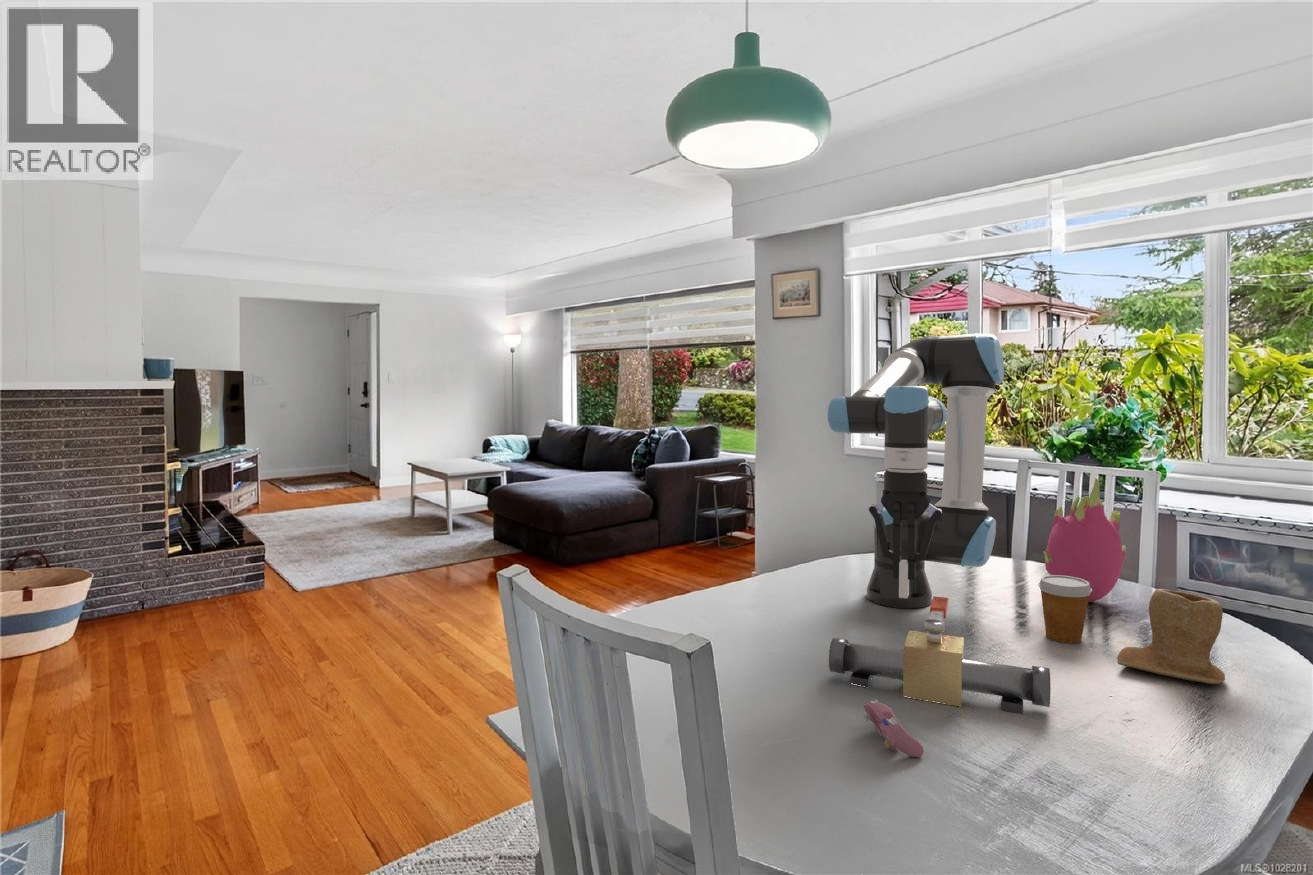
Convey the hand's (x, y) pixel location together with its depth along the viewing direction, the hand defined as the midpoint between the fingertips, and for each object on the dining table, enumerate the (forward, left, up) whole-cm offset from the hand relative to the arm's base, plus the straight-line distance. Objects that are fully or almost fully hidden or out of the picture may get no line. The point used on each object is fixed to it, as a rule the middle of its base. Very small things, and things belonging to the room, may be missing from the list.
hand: (903, 595), depth 130 cm
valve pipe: (+10, +6, -14) cm, 18 cm away
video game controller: (+30, +2, -14) cm, 33 cm away
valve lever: (+3, +6, -3) cm, 7 cm away
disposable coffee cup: (-28, +28, -14) cm, 42 cm away
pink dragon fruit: (-57, +34, -14) cm, 68 cm away
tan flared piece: (-16, +44, -14) cm, 49 cm away
